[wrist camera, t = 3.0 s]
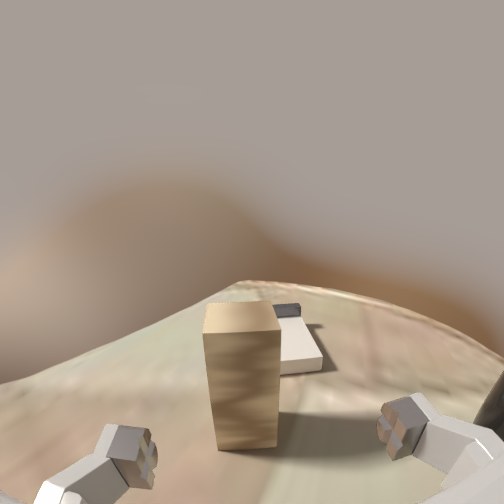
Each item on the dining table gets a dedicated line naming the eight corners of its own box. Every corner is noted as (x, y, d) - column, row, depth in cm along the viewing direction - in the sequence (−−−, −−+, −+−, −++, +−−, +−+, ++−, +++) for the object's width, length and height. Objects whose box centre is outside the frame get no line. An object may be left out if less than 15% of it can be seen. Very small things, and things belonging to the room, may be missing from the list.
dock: (210, 378, 31) (207, 353, 30) (214, 328, 44) (212, 307, 43) (321, 370, 32) (324, 345, 31) (297, 323, 45) (298, 303, 44)
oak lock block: (218, 450, 20) (202, 333, 18) (218, 413, 25) (207, 303, 23) (276, 446, 21) (281, 329, 18) (269, 410, 26) (270, 300, 23)
